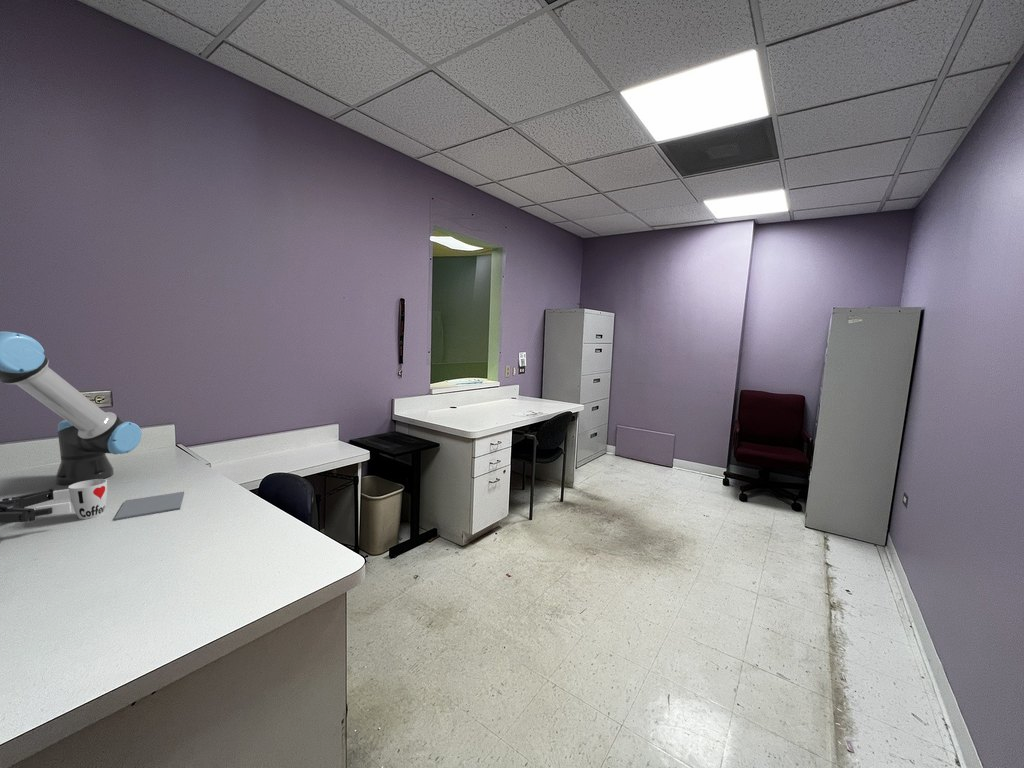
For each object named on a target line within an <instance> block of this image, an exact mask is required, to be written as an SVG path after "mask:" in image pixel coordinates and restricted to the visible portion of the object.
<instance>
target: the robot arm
mask: <svg viewBox="0 0 1024 768" xmlns="http://www.w3.org/2000/svg"><path fill="white" fill-rule="evenodd" d="M44 353H45V349H44V348H43V345H42V344H41V343H39V341H38V340H36V339H34V338H33V337H31V336H29V335H28V334H27V335H26V334H23V333H18V332H13V331H0V382H1V383H3V384H4V385H5V384H6V385H15V386H18V387H19V388H20V389H22V390H23V391H24V392H26V393H28V394H29V395H30V396H32V397H33V398H34V399H35V400H37V401H38V402H40V403H41V404H43V405H44V406H45V407H46V408H48V409H49V410H51V411H52V412H53V413H55V414H56V415H58V416H59V417H61V418H63V420H61V421H59V423H58V424H57V431H56V433H57V436H58V445H59V453H60V455H59V456H60V463H59V467H58V469H57V472H56V474H55V484H57V485H63V486H65V485H66V486H70V485H72V484H74V483H78V482H82V481H87V480H94V479H107V478H108V479H109V478H110V477H112V476H113V475H114V473H115V472H114V467H113V465H112V463H111V462H110V460H109V459H108V457H107V454H110V455H111V454H113V455H124V454H128V453H130V452H132V451H133V450H135V448H137V447H138V445H139V444H140V443H141V440H142V434H143V433H142V429H141V428H140V426H139V425H138V424H137V423H134V422H131V421H125V420H123V419H122V418H121V417H119V415H117V414H116V413H114V412H112V411H107V412H106V411H104V410H102V408H100V407H99V406H98V405H96V404H95V403H94V402H93V401H91V400H90V399H89V398H88V397H86V396H85V395H84V394H83V393H81V392H80V391H79V390H78V389H76V387H74V386H72V385H71V383H69V382H67V380H65V379H64V378H62V377H61V375H59V374H58V373H57V372H56V371H54V370H53V369H51V368H50V367H49V362H50V361H49V358H47V357H46V354H44ZM68 499H70V494H69V488H67V489H59V490H55V488H54V487H53V488H49V489H47V490H46V489H45V490H42V491H36V492H32V493H28V494H21V495H18V496H17V495H16V496H13V497H6V498H2V499H1V500H0V524H2V523H4V524H5V523H6V524H7V523H26V522H30V523H31V522H35V521H36V518H41V517H46V516H53V515H59V514H65V513H71V512H72V507H71V505H72V504H71V501H67V502H66V501H65V502H61V503H60V502H59V503H53V504H45V505H41V506H40V505H39V506H36V507H34V508H32V507H31V508H28V507H30V506H34V505H38V504H42V503H46V502H48V501H52V500H53V501H61V500H68Z"/></svg>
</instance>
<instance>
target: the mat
mask: <svg viewBox="0 0 1024 768" xmlns="http://www.w3.org/2000/svg"><path fill="white" fill-rule="evenodd" d="M184 496H185V491H179V492H172V493H167V494H165V493H164V494H159V495H151V496H145V497H140V498H139V497H138V498H133V499H132V498H131V499H127V500H124V502H123V504H122V505H121V507H120V508H119V510H118V512H117V514H116V515H115V517H114V521H120V520H125V519H133V518H137V517H143V516H151V515H155V514H160V513H167V512H172V511H173V512H174V511H178V510H179V511H180V510H181V508H182V503H183V498H184Z"/></svg>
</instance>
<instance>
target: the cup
mask: <svg viewBox="0 0 1024 768" xmlns="http://www.w3.org/2000/svg"><path fill="white" fill-rule="evenodd" d="M67 486H68V488H67V489H69V494H70V498H69V499H70V503H71V505H72V508H73V510H74V512H75V514H76V515H77V517H78V518H79V520H90V519H94V518H97V517H101V516H102V515H103V514H104V511H105V508H106V504H107V497H108V479H107V478H105V479H94V480H87V481H82V482H78V483H74V484H72V485H67Z"/></svg>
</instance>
